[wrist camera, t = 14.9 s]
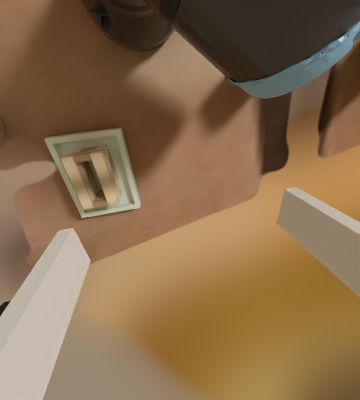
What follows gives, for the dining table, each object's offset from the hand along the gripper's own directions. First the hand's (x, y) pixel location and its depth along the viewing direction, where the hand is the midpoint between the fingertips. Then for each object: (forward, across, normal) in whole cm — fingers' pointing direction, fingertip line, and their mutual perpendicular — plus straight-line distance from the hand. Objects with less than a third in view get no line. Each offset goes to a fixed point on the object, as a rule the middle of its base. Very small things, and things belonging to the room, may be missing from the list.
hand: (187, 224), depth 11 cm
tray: (+29, -13, -5) cm, 32 cm away
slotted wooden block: (+28, -13, -4) cm, 31 cm away
